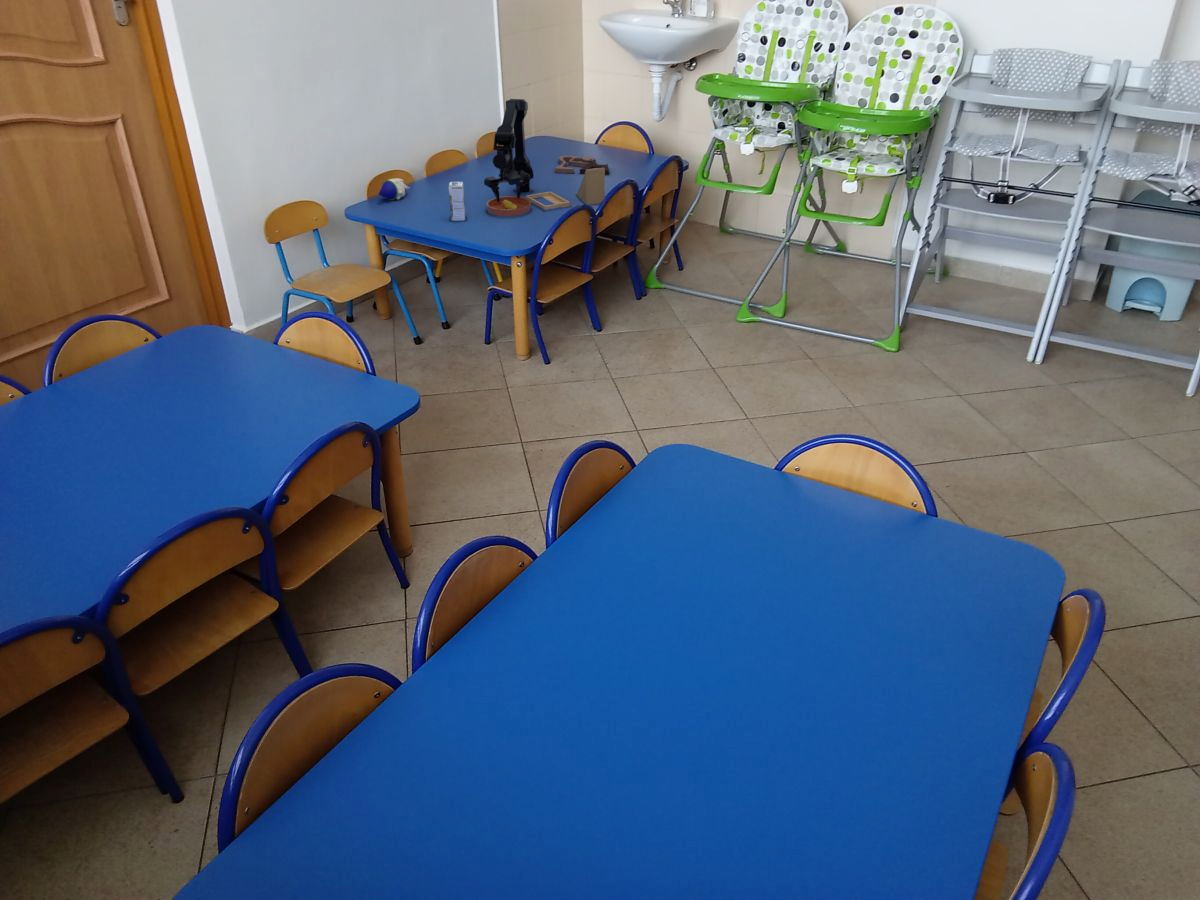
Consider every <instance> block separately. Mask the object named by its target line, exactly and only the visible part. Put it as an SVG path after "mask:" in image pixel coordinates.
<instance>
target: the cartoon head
mask: <svg viewBox="0 0 1200 900" xmlns="http://www.w3.org/2000/svg"><path fill="white" fill-rule="evenodd" d="M404 182H405V180H404V179H402V178H399V177H397V178H395V177H394V178H389V179H387V180H384V181H383V182H382V184H381V187H380V189H379V192H378V196H381V197H383V198H385V199H387V200H388V201H394V200H398V201H399V200H401V198H403V197H405V196H406V192H407V191H408V190H410V189H411V187H410V186H409V185H406V184H405V183H404Z"/></svg>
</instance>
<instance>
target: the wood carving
mask: <svg viewBox="0 0 1200 900" xmlns="http://www.w3.org/2000/svg"><path fill="white" fill-rule="evenodd" d="M567 162H568V166H571V167H568V166H567ZM558 163H559V165H558V166H555V168H554V173H555V174H575V169H574V168H573V167H578V168H580V169H579V175H584V174H585V171H586V170H587V169H594V168H605V176H609V173H610V171H609V164H608V163H606V164H597V160H596V159H595V157H591V156H586V157H585V156H583V157H582V156H577V155H560V156H558Z"/></svg>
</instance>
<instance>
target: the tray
mask: <svg viewBox="0 0 1200 900" xmlns="http://www.w3.org/2000/svg"><path fill="white" fill-rule="evenodd" d="M525 198H526V199H528V200H530V202H531V204H534V205H535V206H538V208H541V209H542V210H544V211H546V210H552V209H557V208H570V207H571V202H570V201H569V200H567V199H565V198H564V197H561V196H560V195H558V194H556V193H554V192H552V191H546V192H539V193H533V194H529V195H525ZM537 198H543V199H545V200H547V201H549V202H551V204H548V205H545V204H543V203H542V202H540V201H538V200H536V199H537Z"/></svg>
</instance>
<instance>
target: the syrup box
mask: <svg viewBox="0 0 1200 900" xmlns="http://www.w3.org/2000/svg"><path fill="white" fill-rule="evenodd" d="M448 197H449V209H450V211H449V212H450V221H451V222H458V221H459V222H460V221H461V222H463V221H466V199H465V188H464V181H450V182H449V183H448Z"/></svg>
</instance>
